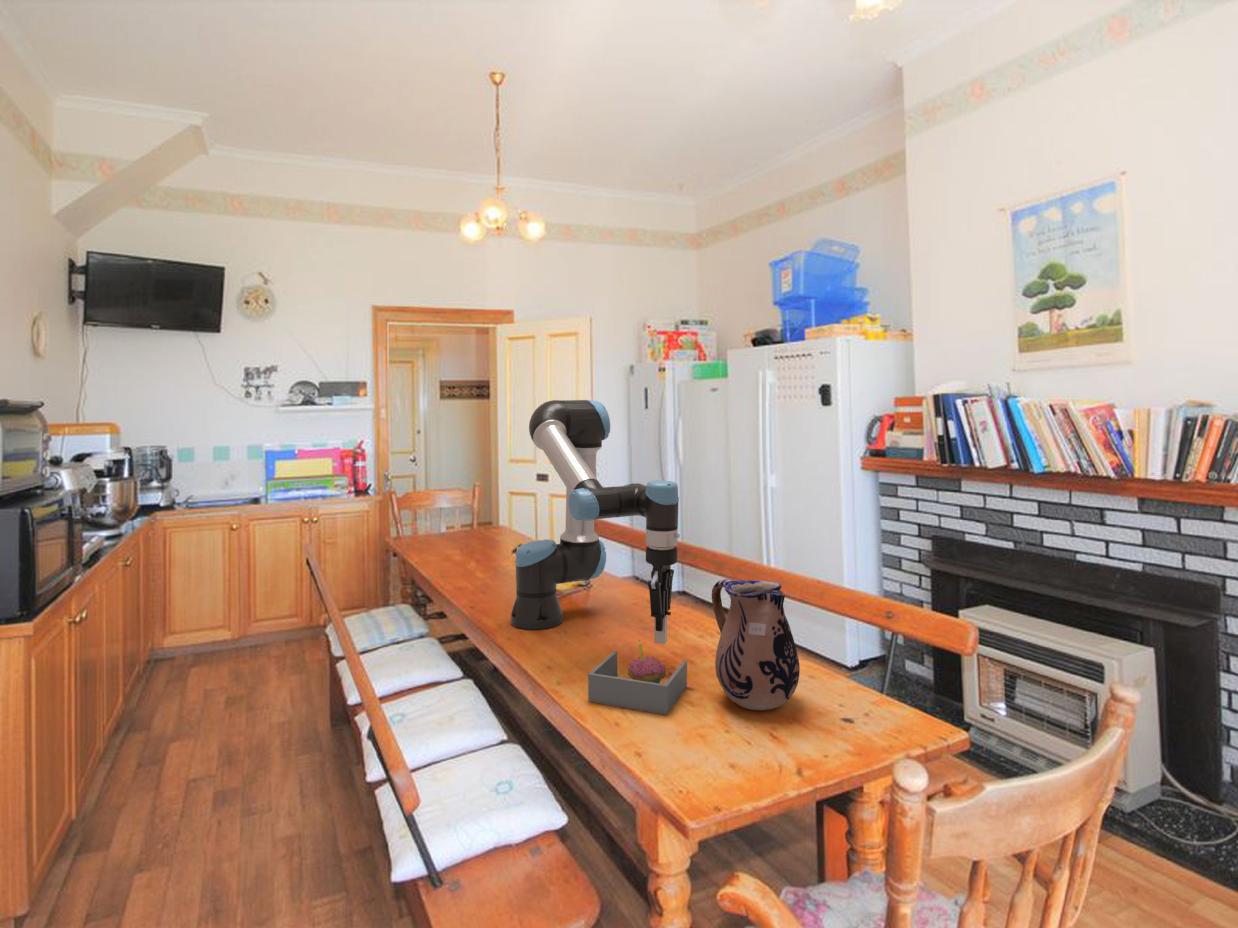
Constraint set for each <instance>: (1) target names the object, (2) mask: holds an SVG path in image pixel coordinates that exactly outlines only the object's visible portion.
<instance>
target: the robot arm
mask: <svg viewBox="0 0 1238 928" xmlns="http://www.w3.org/2000/svg"><path fill="white" fill-rule="evenodd" d="M528 431H529V436H530V438H531V440H532V442H533V444H534V445H535V447H536V448H537V449H539V450H542V451H543V452H544V454H545V456H546V457H547V459H548V460H549V462H550V464H551V465H552V467H553V468H554V470H555V471H556V473H557V475H558V476H559V477H560V479H561V481H562V483H563V484H564V486H565V487H566V488H565V530H564V532H563V533H561V534H560V536H559V538H560V540H559V543H556V541H555V540H554V539H553V540H552V539H537V540H532V541H529V542H525V543H523V544H521V545H520V546H519V547H518V548H517V549H516V552H515V561H514V565H515V583H516V584H515V585H516V587H515V588H516V589H515V590H516V597H515V600H514V604H513V606H512V610H511V614H510V624H511V625H512V626H513V627H515V628H518V629H523V630H545V629H551V628H555V627H557V626H559V625H561V624H562V623H563V620H564V617H563V616H564V615H563V610H562V607H561V605H560V601H559V598H558V596H557V585H559V584H567V583H575V582H582V581H583V582H587V581H588V580H594V579H596V578H599V577H600V575H602V573H603V572H604V571H605V567H606V562H607V552H606V551H605V550H606V547H605V544H604V543H603V541H601V540H600V536H599V535H598V534H597V532H595V520H603V519H612V518H623V517H624V518H625V517H634V516H635V517H637V516H640V517H643V518H645V545H646V546H645V547H646V548H645V562H646V563H647V564H649V565H651V566H652V570H651V572H650V579H651V580H650V579H649V580H648V582H647V585H648V586H647V587H648V589H649V590H648V591H649V602H650V618H654V628H653V629H654V631H653V633H654V635H653V636H654V638H653V639H654V641H653V642H654V644H661V645H666V643H668V616H671V614H672V612H671V611H670V610H671V605H672V604H671V603H672V591H673V590H672V589H673V579H674V574H675V570H674V569H673V568H672V569H671V566H672V565H675V564H676V563H678V548H677V546H678V539H679V538H680V533H678V531H679V530H678V527H679V526H678V525H679V501H680V498H679V486H678V484H677V483H676V482H675V481H671V480H662V479H661V480H658V479H657V480H650V481H648V482H647V484H646V485H644V484H642V483H639V482H637V483H636V482H635V483H634V482H633V483H632V482H629V483H627V484H625V485H622V486H621V485H619V486H603V485H602V484H601V483H600V481H599V480H598V479H597V476H596V475H597V473H596V471H597V452H598V451H599V450H600V449H602V447H603V446H602V444H603V441H605V440H607V439H608V438H609V435H610V433H611V420H610V416H609V413H608V410H607V409H606V407H605V405H604V404H603V403H602V402H600V401H598V400H593V399H592V400H590V399H589V400H588V399H571V400H568V399H567V400H566V399H565V400H562V399H561V400H558V399H556V400H555V399H554V400H548V401H546V402H545V401H544V402H543V403H542V404H540V405H539V406H538V407H537V408H536V409H535V410H534V411H533V412H532V415H531V416H530V419H529V425H528Z"/></svg>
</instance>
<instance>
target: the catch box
mask: <svg viewBox="0 0 1238 928" xmlns="http://www.w3.org/2000/svg"><path fill="white" fill-rule="evenodd" d="M587 684H588V685H587V687H588V688H587V689H588V691H587V693H588V694H587V696H588V700H587V701H588V702H590V703H595V704H602V705H608V706H611V707H612V706H613V707H618V708H624V709H631V710H635V711H636V710H637V711H642V712H648V713H653V714H654V713H655V714H660V715H664V716H665V715H666V716H668V714H669V713H670V711H671V710H672V709H673V707H674V706H675V704H676V703H678V702H677V701H678V700H679V699H680V697H681V696H682V695H683V693H684V692H685V690H687V688H688V661H687V660H683V661H682V662H681V664H679V666H678V667H677V668H676V669H675V671H674V672H673V673H672V675H670V677H668V680H667V681H666V682H665V683H660V684H659V683H652V682H646V681H639V680H633V679H632V678H625V677H620V676H619V677H618V651H617V650H613V651H612V652H611V653H610V654H609V655H608V656H606V658H605V659H604V660H602V661H601V662H600V663H599V664H598V665H597V666H595V668H593V669H592V670H591V671H590V672H589V673H588V674H587Z"/></svg>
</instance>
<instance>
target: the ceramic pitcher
mask: <svg viewBox="0 0 1238 928" xmlns="http://www.w3.org/2000/svg"><path fill="white" fill-rule="evenodd" d="M723 588H724V591H725V592H726V594H727V595H728V596H729V598H730V606H729V610H728V613H727V616H726V615H725V611H724V608H723V603H722V602H723V601H722V596H721V593H722V589H723ZM781 588H782V584H781V583H778V582H776V581H766V580H765V581H764V580H762V579H761V580H757V579H754V580H753V579H749V580H732V579H728V578H723V579H721V580H719V581H717V582H716V583H715V584H714V585H713V586H712V589H711V604H712V609H713V610H712V611H713V613H714V616H715V620H716V623H717V626H718V629H719V632H720V636H719V640H718V644H717V647H716V653H715V663H714V664H715V673H716V674H715V675H716V677H717V680H718V683H719V685H720V686H721V688H722V690H723V691H724V693H725V694H726V696H727V697H728V698H729V699H730V700H731V701H732V702H733V703H736V704H737V705H738V706H739V707H741V708H743V709H747V710H750V711H769V710H773V709H776V708H779V707H781V706H783V704H785V703H786V702H787V701H789V699H791V698H792V696H793V695H794V693H795V692H796V690H797V687H798V684H799V680H800V669H801V668H800V660H799V654H798V651H797V647H796V643H795V639H794V636H793V633H792V630H791V627H790V624H789V621H788V619H787V616H786V613H785V609H784V608H785V607H784V601H785V598H786V594H785V592H784V591H782V590H781Z"/></svg>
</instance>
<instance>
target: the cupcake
mask: <svg viewBox="0 0 1238 928" xmlns="http://www.w3.org/2000/svg"><path fill="white" fill-rule="evenodd" d="M638 640H639V642H638V648H639V656H640V657H638V658H635V659H633V660H632V661H631V662H630V663H629V664H628V666H627V675H628V677H629V679H633V680H639V681H646V682H652V683H659V684H661V681H662V679H664V678H665V677H666V675H667V671H666V666H665V664H664V663H663V662H661V661H660V660H659V659H658V658H655V657H654V656H653V657H652V656H644V650H643V643H642V642H641V639H638Z"/></svg>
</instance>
